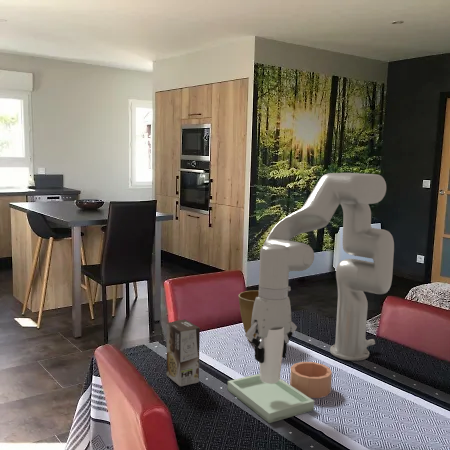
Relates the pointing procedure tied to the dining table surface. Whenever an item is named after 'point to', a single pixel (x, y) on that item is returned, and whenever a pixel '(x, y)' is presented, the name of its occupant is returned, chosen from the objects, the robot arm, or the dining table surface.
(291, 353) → the dining table surface
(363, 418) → the dining table surface
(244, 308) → the plant pot
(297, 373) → the holder cup
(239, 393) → the tray
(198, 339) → the coffee box
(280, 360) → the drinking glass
